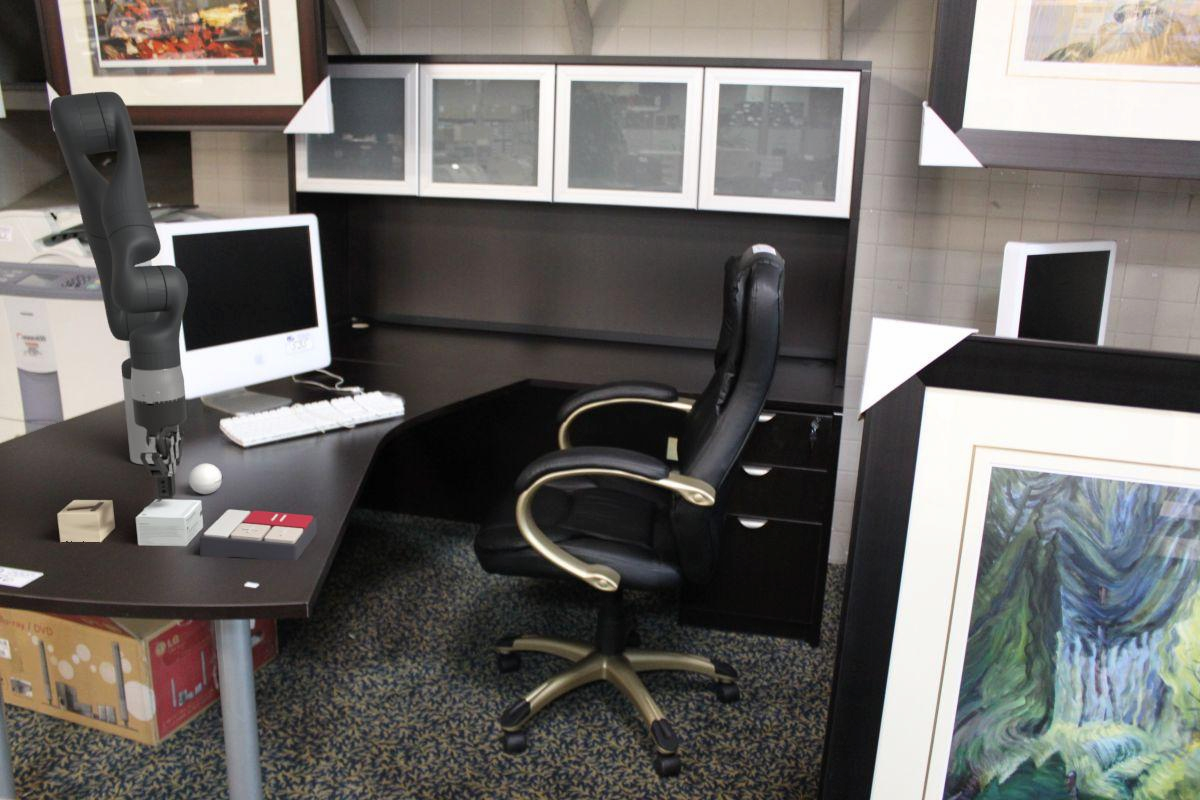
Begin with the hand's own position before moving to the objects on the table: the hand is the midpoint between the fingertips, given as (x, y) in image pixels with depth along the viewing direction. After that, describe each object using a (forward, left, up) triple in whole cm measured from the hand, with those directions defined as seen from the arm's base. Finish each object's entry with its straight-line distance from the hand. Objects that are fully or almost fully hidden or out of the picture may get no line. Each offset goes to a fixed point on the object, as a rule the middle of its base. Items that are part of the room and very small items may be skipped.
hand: (167, 496), depth 152 cm
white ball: (-20, 0, -7) cm, 21 cm away
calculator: (+3, +15, -7) cm, 17 cm away
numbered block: (0, -13, -7) cm, 15 cm away
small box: (0, 0, -7) cm, 7 cm away
